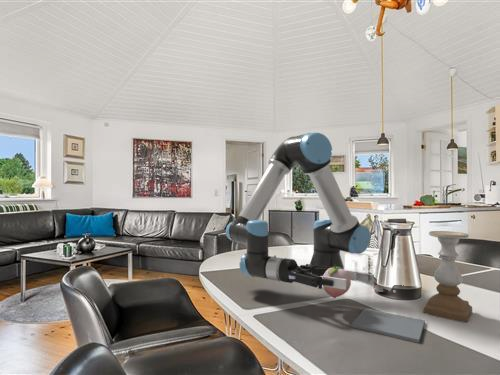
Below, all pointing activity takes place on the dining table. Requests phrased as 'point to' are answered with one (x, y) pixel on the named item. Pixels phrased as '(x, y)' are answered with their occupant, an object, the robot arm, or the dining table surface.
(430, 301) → the candle holder
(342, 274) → the decorative fruit
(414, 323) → the mat
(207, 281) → the dining table surface
